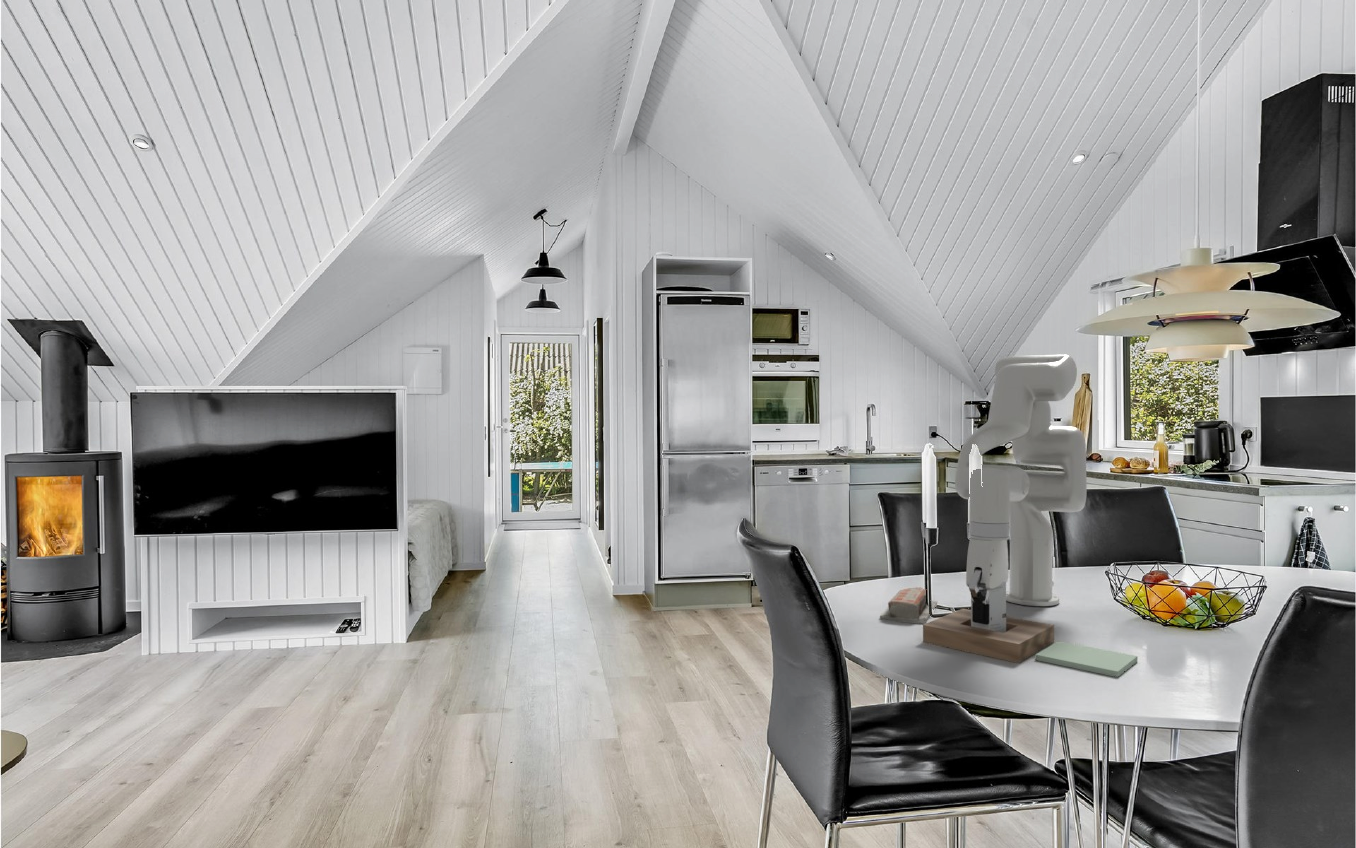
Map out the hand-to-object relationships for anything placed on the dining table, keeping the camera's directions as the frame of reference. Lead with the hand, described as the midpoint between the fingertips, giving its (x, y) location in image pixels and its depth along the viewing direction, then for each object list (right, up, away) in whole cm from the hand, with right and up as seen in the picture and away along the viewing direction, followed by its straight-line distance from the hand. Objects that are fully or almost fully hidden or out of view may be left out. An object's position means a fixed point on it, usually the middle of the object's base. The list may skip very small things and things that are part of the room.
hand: (988, 618), depth 162 cm
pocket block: (0, -5, 0) cm, 5 cm away
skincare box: (0, -5, 0) cm, 5 cm away
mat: (+14, -5, -12) cm, 19 cm away
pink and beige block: (-9, -5, +24) cm, 26 cm away
